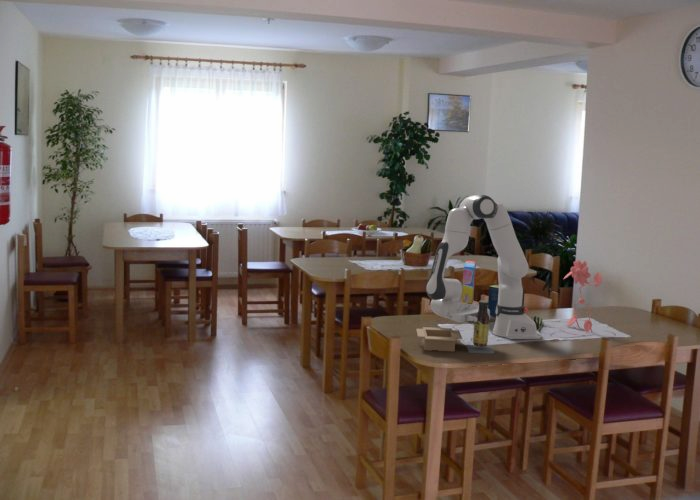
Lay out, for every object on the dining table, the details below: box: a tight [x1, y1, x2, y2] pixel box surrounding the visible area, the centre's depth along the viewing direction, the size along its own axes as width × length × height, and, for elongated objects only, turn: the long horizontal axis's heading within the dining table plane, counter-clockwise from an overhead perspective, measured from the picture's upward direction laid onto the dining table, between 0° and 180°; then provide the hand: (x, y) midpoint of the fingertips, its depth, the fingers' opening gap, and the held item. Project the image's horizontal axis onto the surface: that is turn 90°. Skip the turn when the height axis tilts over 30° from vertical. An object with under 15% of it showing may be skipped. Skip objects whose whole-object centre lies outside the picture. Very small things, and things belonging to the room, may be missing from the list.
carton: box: [415, 326, 463, 352], centre depth 326 cm, size 19×19×6 cm
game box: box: [460, 260, 477, 303], centre depth 385 cm, size 21×6×27 cm, turn 168°
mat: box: [465, 343, 496, 355], centre depth 324 cm, size 11×11×1 cm
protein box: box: [487, 283, 526, 318], centre depth 387 cm, size 10×15×16 cm
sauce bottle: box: [472, 299, 490, 347], centre depth 322 cm, size 6×6×20 cm
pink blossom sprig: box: [558, 259, 603, 337], centre depth 361 cm, size 15×26×35 cm, turn 26°
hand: (483, 318), depth 321 cm, fingers closed on sauce bottle, 6 cm apart
